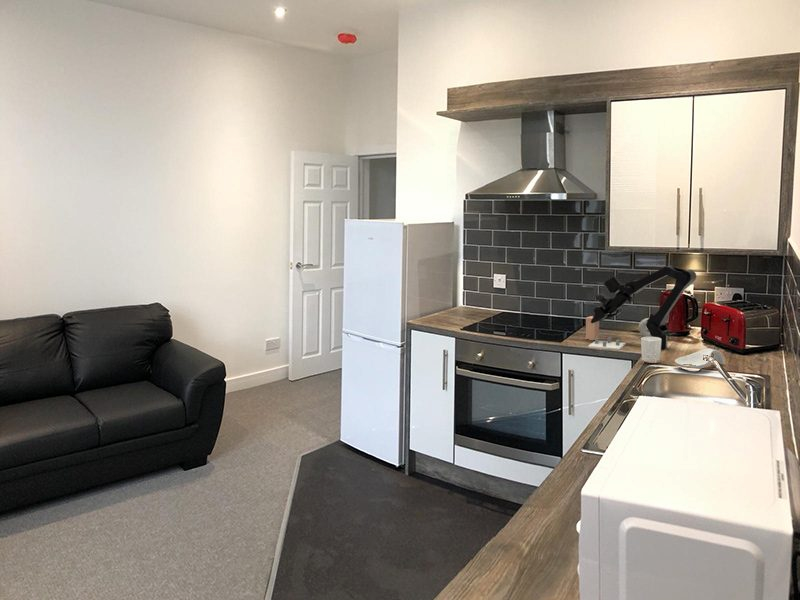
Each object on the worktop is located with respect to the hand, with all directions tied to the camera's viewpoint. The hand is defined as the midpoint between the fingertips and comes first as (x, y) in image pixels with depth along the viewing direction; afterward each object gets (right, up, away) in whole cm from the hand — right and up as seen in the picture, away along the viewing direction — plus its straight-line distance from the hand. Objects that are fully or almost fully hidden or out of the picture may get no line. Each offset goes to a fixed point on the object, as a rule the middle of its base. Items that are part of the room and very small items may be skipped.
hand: (595, 321), depth 305 cm
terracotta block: (-1, -9, +2) cm, 9 cm away
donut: (+27, -8, +2) cm, 28 cm away
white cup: (+8, -16, -46) cm, 49 cm away
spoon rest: (+24, -17, -57) cm, 64 cm away
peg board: (+1, -11, -13) cm, 17 cm away
